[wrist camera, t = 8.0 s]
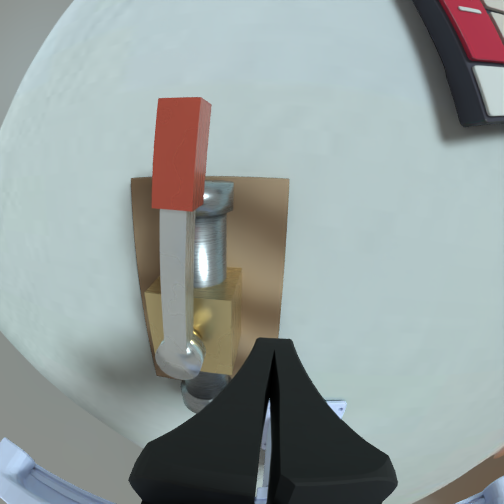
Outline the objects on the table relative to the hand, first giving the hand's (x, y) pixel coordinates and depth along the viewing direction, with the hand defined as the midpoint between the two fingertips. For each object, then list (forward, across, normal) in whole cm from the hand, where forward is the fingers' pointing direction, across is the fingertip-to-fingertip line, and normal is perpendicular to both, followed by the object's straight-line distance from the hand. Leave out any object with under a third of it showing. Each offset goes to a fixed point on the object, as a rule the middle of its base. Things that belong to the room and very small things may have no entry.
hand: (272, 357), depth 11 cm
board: (+10, +5, +3) cm, 12 cm away
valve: (+10, +5, +3) cm, 12 cm away
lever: (+4, +5, -3) cm, 7 cm away
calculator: (+11, -17, -21) cm, 29 cm away
